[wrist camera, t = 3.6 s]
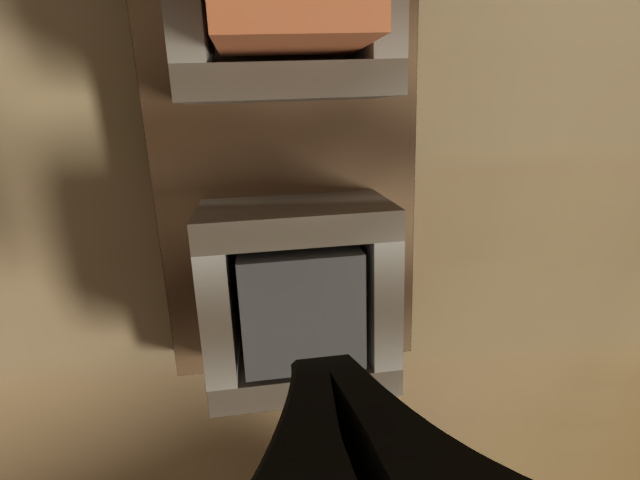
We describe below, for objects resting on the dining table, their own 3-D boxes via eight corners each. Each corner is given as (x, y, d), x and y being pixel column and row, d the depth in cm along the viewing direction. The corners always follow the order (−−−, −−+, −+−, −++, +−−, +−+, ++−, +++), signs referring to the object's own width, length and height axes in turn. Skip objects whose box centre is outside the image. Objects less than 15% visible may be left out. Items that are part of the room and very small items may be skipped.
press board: (397, 330, 22) (448, 406, 16) (184, 351, 21) (159, 442, 15) (402, -106, 17) (478, -213, 12) (124, -112, 16) (53, -238, 10)
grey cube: (343, 317, 19) (366, 368, 15) (246, 326, 19) (246, 382, 15) (341, 224, 18) (366, 254, 14) (238, 231, 18) (235, 265, 14)
